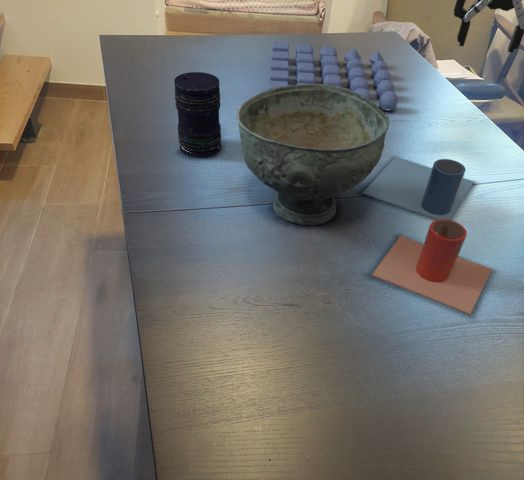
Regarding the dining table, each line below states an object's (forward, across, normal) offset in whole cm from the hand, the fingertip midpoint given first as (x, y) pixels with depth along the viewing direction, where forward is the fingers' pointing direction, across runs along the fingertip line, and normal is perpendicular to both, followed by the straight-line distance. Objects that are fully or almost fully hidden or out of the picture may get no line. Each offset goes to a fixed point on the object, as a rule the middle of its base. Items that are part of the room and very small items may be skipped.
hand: (485, 48), depth 91 cm
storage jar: (+28, +55, 0) cm, 62 cm away
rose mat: (+28, 0, +30) cm, 41 cm away
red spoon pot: (+28, 0, +30) cm, 41 cm away
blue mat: (+28, +4, +1) cm, 28 cm away
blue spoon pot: (+28, 0, +8) cm, 29 cm away
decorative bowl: (+28, +27, +17) cm, 43 cm away
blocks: (+28, +32, -48) cm, 64 cm away
